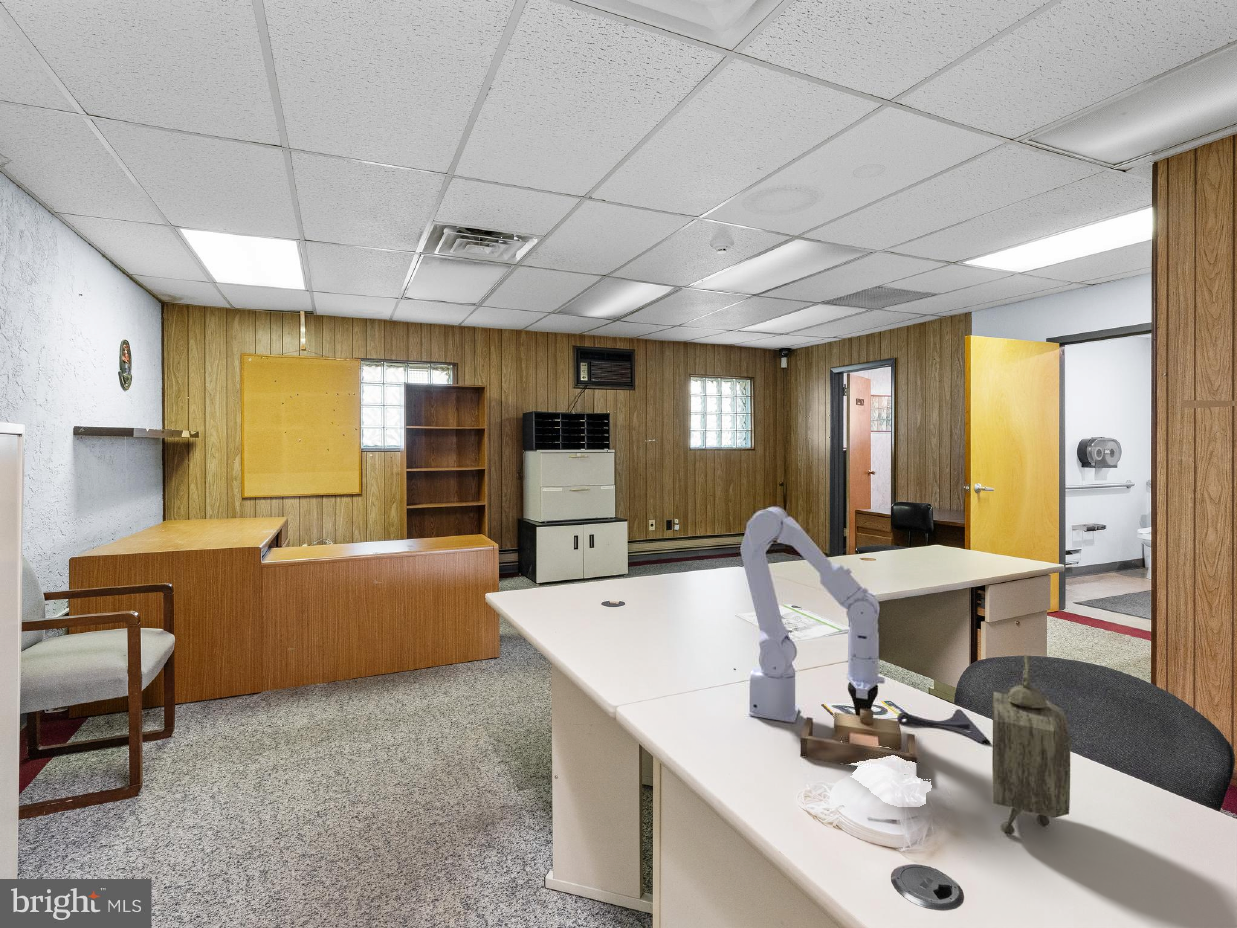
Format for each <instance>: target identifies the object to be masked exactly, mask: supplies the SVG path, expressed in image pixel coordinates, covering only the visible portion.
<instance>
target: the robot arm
mask: <svg viewBox="0 0 1237 928" xmlns="http://www.w3.org/2000/svg"><path fill="white" fill-rule="evenodd" d="M775 540H776V542H777V543H781V544H782V545H783V544H784V545H788V546H792V547H793V548H794V549H795V550H796V551H797V552H798V553H799V554H800V556H802V557H803V558H804V559H805V560H806V561H807V562H808V563H809V564H810V565H811V566H812V567H813V569H814V570H815V571H816V572H818V573H819V583H820V585H821V586H822V587H823V588H824V589H825V590H826V591H827V592H828V593H829V594H830V596H831V597H832V598H834V600H835V601H836V602H837V604H839V606H840V607H842V608H844V609H845V610H846V617H847V619H848V621H849V629H848V632H847V633H848V635H847V636H848V640H847V641H848V643H847V645H848V646H847V647H848V648H847V649H848V651H847V653H848V654H847V674H846V679H847V681H848V684H847V690H848V691H847V692H848V693H849V695H850V699H851V701H852V705H853V708H854V712H855V713H854V715H858V716H860V709H861V708H868V709H871V710H872V708H873V704H874V702H875V700H876V698H877V696H878V694H879V685H878V684H885V677H884V676H879V656H880V655H879V654H880V653H879V651H880V650H879V648H880V647H879V644H880V639H879V638H880V637H879V636H880V635H879V631H878V630H879V623H878V621H879V614H880V608H881V607H880V603H879V601H878V600H877V598H876V597H875V596H876V595H874V594H873V593H871V592H869V589H868V588H866V587H864V588H863V586H862V585H861V584H860V583H859V582H858V581H857V580H856V579H855V578H854V577H853V576H852V575H851V574H852V572H853V571H852V570H851V569H850V568H849V567H846V568H845V567H844V566H843V565H842V564H838V563H832V562H831V561H830V560H829V559H828V557H827V556H826V555H825V554H824V553H823V552H822V550H821V549H820V548H819V546H818V545H817V543H815V542H814V541H813V540H812V539H811V538H810V536H809V535H808V533H807V532H806V531H805V530H804V529H803V528H802V527H801V525H800V524H799V523H798V522H797V521H796V520H795V519H794V517H793V518H792V516H789V515H788V514H787V512H786V511H785V509H783V508H781V507H779V506H770V507H767V508H766V509H761V510H758V511H756V512H755V513H754V514H753V515H752V517H751V518H750V519H749V520H748V521H747V523H746V529H745V533H744V536H743V539H742V542H741V545H740V555H741V559H742V562H743V567H744V571H745V576H746V580H747V583H748V587H749V588H748V589H749V592H750V596H751V600H752V604H753V608H754V612H755V616H756V620H757V625H758V628H759V635H758V636H759V637H758V646H759V649H760V650H759V655H758V663H759V666H760V667H759V668H752V670H751V672H750V677H749V712H748V715H749V716H751V717H757V718H764V719H769V720H775V721H782V722H787V723H792V724H793V723H795V722H796V720H797V717H798V713H799V711H800V707H799V706H798V705H796V669H795V668H794V665H793V662H794V661H795V660H796V658H797V654H798V651H797V650H798V649H797V646H796V644H795V642H794V641H793V640H792V639H791V636H790V634H789V631H788V628H787V627H786V626H785V624H784V622H783V619H782V615H781V610H780V607H779V602H778V598H777V595H776V591H775V587H774V583H773V578H772V574H771V571H770V567H769V564H768V558H767V555H766V553H767V551H768V550H769V548H770V547H771V545H772V544H773V543H774V541H775Z"/></svg>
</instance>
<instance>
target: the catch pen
mask: <svg viewBox="0 0 1237 928" xmlns="http://www.w3.org/2000/svg"><path fill="white" fill-rule="evenodd" d="M813 720H814V718H813V717H809V716H806V718H805V722H804V724H803V728H802V732H801V734H800V740H799V741H800V748H799V749H800V750H799V751H800V757H802V756H804V757H803V758H808V759H813V758H815V759H814V760H818V759H822V760H821V761H824V760H825V762H829V761H830V763H836V764H840V763H843V764H842V765H845V764H851V763H857V762H859V761H866V760H869V759H878V758H883V757H886V756H891V755H895V756H898V757H900V758H902V759H904V760H906V761H912V762H915V763H917V764H918V754H917V745H916V735H915V734H913V733H907V742H906V743H907V747H906V749H907V752H903V751H899V750H892V749H886V748H876V747H870V746H864V745H858V744H853V743H847V742H841V741H835V740H834V739H829V738H822V737H819V736H814V735H813V731H814V728H813V727H814V724H813V723H814V721H813Z"/></svg>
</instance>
